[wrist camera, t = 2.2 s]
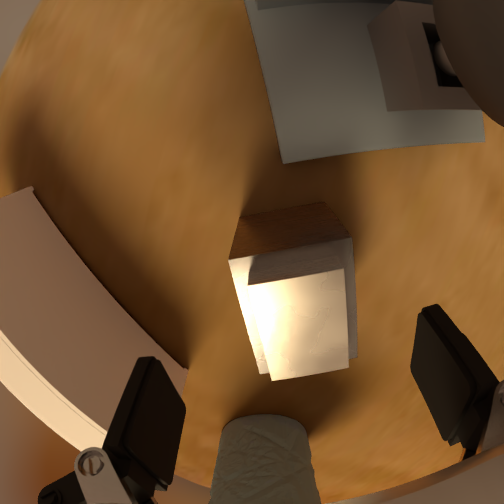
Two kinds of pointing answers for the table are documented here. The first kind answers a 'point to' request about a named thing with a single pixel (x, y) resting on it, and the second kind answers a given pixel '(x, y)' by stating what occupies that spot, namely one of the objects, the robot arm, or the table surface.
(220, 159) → the table surface
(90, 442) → the beige beam
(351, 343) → the beige block
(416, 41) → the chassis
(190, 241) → the table surface
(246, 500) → the green tumbler
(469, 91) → the round knob on base
